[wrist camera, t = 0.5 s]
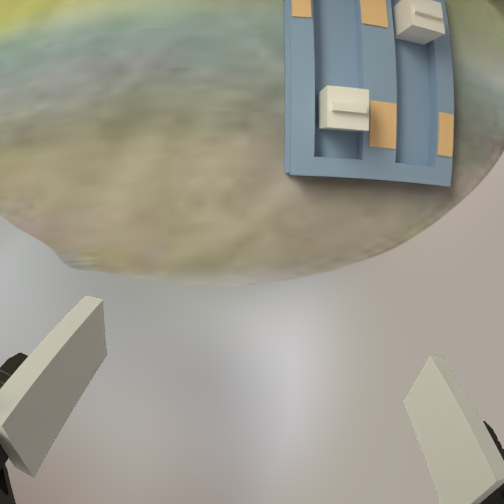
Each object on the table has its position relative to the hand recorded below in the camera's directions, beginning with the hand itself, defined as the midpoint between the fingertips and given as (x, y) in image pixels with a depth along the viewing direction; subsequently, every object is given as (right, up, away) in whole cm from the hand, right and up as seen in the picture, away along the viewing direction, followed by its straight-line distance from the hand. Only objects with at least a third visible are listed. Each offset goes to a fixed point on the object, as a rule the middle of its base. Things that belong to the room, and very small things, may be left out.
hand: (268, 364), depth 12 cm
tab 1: (+8, +19, +20) cm, 29 cm away
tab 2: (+17, +30, +15) cm, 38 cm away
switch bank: (+13, +25, +19) cm, 34 cm away
